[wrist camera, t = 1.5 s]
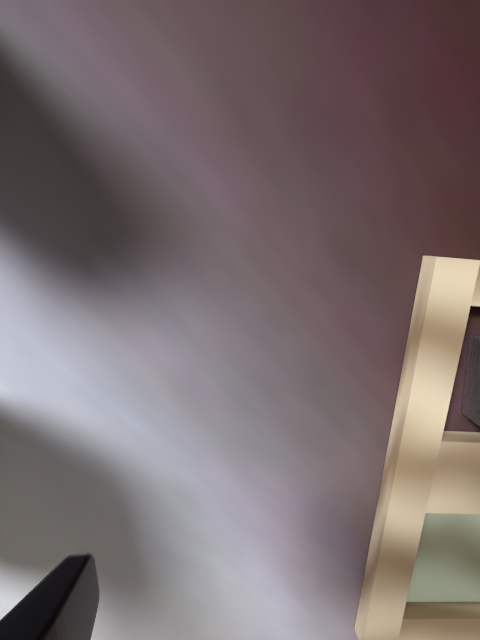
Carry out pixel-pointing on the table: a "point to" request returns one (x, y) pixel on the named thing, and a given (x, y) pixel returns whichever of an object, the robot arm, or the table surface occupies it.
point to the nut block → (472, 381)
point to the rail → (428, 481)
